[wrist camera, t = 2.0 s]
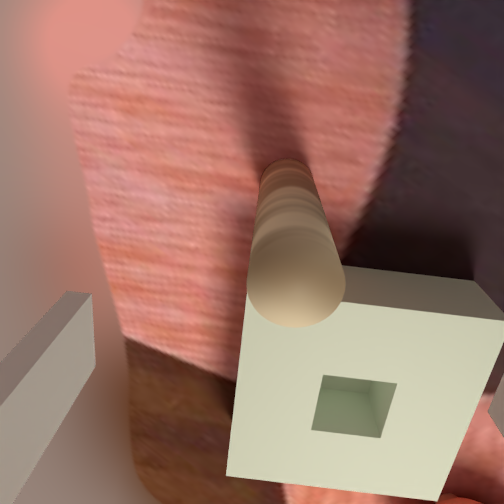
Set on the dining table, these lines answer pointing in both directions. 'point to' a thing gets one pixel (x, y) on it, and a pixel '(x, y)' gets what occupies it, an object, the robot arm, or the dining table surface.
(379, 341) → the bore block
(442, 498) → the teapot
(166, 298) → the dining table surface
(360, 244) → the dining table surface
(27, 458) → the robot arm
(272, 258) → the dowel
